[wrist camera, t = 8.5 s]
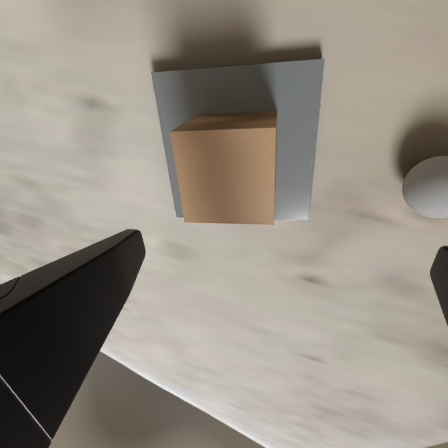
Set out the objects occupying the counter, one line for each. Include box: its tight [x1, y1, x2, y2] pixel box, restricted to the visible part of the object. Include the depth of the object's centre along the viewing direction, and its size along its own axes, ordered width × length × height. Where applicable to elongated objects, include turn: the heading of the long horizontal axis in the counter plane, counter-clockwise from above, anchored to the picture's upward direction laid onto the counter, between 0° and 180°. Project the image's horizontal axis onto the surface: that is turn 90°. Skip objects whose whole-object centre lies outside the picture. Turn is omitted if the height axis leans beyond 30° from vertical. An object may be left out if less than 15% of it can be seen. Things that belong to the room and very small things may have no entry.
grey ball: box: [402, 156, 448, 218], centre depth 16 cm, size 4×4×4 cm
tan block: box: [170, 111, 277, 225], centre depth 16 cm, size 5×5×5 cm
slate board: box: [151, 59, 324, 221], centre depth 19 cm, size 10×10×1 cm
